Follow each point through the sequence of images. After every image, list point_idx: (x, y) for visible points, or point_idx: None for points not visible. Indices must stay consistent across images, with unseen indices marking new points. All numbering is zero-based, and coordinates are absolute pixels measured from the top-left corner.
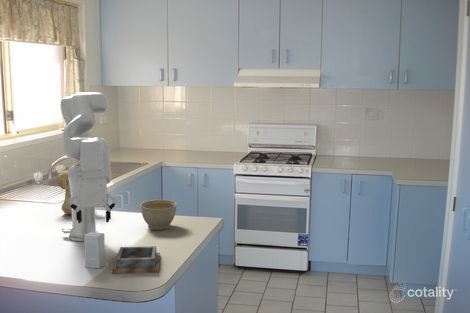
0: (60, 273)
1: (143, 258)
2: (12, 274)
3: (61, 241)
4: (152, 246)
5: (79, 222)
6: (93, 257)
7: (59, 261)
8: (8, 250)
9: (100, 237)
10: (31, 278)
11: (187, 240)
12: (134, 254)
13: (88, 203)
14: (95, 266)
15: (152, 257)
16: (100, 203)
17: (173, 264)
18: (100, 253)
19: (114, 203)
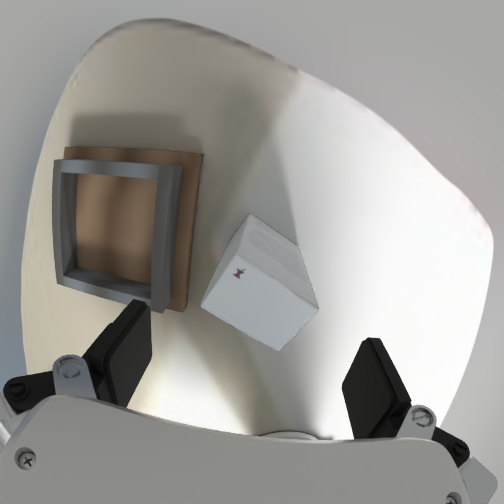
0: (381, 206)
1: (80, 167)
2: (482, 241)
3: (341, 434)
4: (65, 284)
5: (371, 338)
6: (268, 236)
7: (374, 314)
8: (451, 392)
9: (222, 269)
10: (452, 192)
11: (44, 356)
12: (125, 280)
13: (323, 491)
14: (262, 223)
15: (58, 174)
16: (93, 445)
17: (41, 203)
18: (236, 237)
19: (4, 401)
